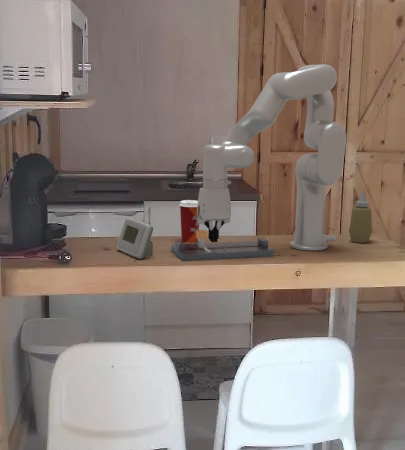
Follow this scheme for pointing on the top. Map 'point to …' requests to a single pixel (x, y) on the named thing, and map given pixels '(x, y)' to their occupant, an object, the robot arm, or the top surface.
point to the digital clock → (136, 239)
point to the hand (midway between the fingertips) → (213, 241)
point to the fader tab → (201, 237)
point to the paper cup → (189, 220)
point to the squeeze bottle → (361, 221)
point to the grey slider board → (222, 250)
